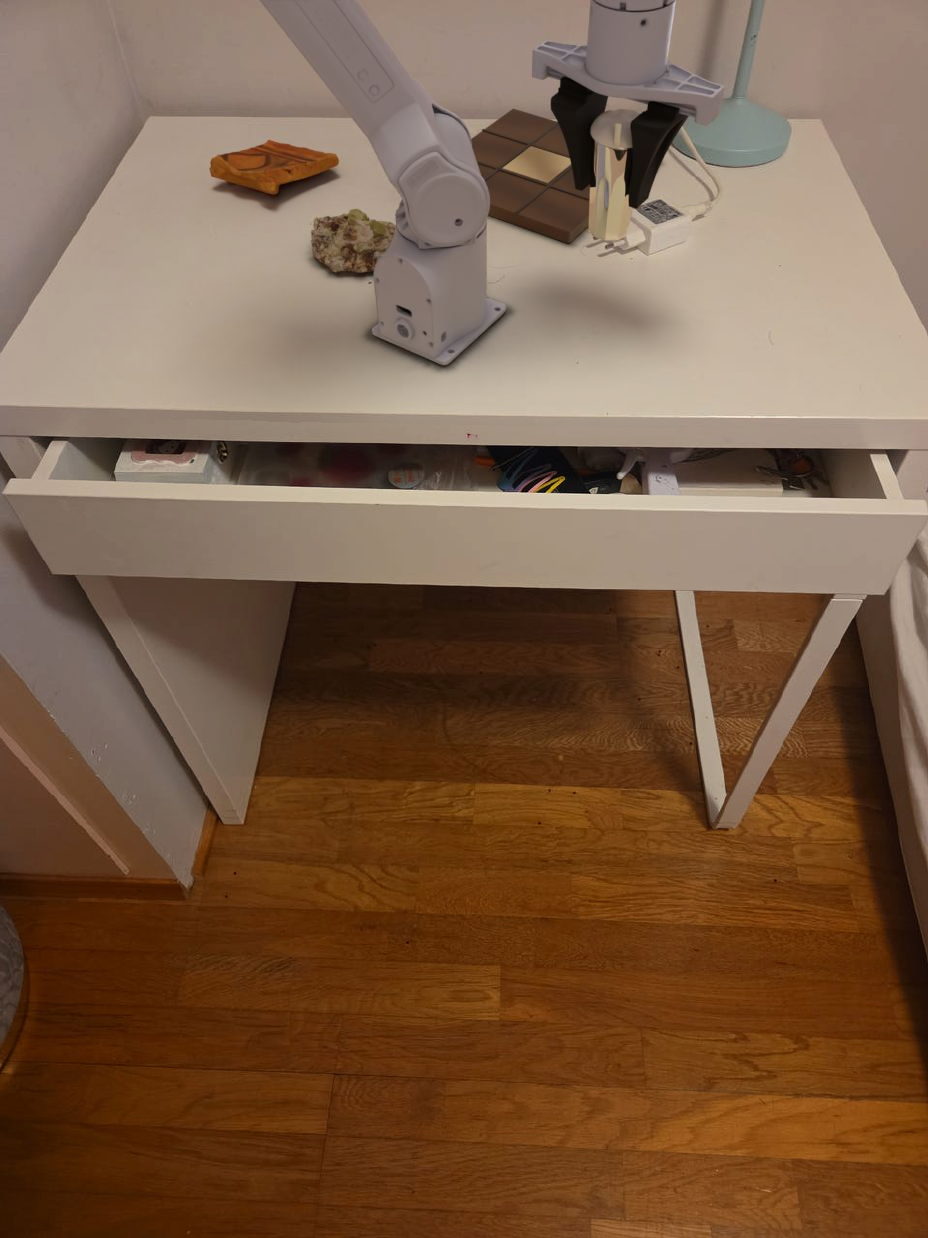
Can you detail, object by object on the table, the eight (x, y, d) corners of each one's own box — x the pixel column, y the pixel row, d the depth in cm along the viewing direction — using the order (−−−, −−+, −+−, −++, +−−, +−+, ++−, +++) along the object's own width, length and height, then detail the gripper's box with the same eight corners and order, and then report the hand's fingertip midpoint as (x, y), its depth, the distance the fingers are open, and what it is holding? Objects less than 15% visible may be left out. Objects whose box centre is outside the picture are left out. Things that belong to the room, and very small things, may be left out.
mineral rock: (290, 249, 80) (319, 182, 82) (301, 283, 84) (329, 218, 86) (403, 270, 78) (429, 202, 81) (409, 304, 82) (434, 237, 85)
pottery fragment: (202, 159, 88) (263, 101, 92) (218, 199, 92) (275, 143, 96) (282, 188, 85) (341, 127, 89) (294, 229, 89) (350, 169, 93)
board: (568, 243, 84) (570, 230, 83) (416, 189, 90) (415, 177, 89) (657, 163, 92) (659, 150, 91) (512, 119, 98) (513, 106, 97)
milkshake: (574, 247, 72) (586, 119, 64) (585, 212, 75) (598, 85, 67) (630, 254, 71) (649, 126, 63) (639, 219, 74) (659, 91, 66)
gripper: (759, -4, 58) (717, 196, 69) (572, -45, 64) (560, 147, 75) (711, 34, 55) (675, 238, 66) (518, -12, 60) (514, 184, 71)
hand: (611, 193), depth 70 cm, fingers closed on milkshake, 4 cm apart
